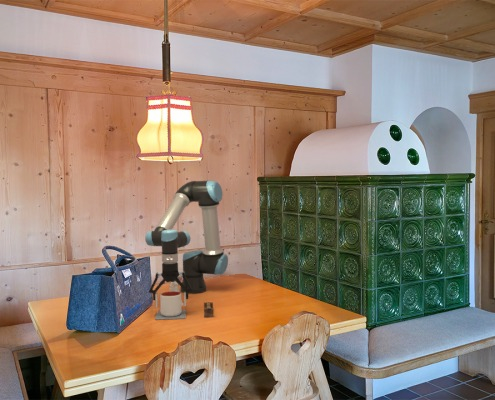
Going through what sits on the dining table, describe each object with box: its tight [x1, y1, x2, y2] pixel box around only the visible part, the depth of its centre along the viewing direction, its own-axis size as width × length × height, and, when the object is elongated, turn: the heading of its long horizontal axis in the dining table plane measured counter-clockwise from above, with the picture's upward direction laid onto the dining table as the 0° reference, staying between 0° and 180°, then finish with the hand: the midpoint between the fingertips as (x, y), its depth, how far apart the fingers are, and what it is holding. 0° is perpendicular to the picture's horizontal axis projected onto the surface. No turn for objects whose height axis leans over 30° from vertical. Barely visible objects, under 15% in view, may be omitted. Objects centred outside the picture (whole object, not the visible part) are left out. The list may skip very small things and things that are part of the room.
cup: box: [159, 291, 183, 317], centre depth 230 cm, size 10×10×10 cm
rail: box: [203, 301, 215, 318], centre depth 232 cm, size 12×4×4 cm, turn 6°
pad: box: [154, 309, 187, 321], centre depth 230 cm, size 14×14×1 cm
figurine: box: [168, 281, 184, 307], centre depth 249 cm, size 9×9×15 cm
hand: (171, 306), depth 230 cm, fingers open, 13 cm apart
